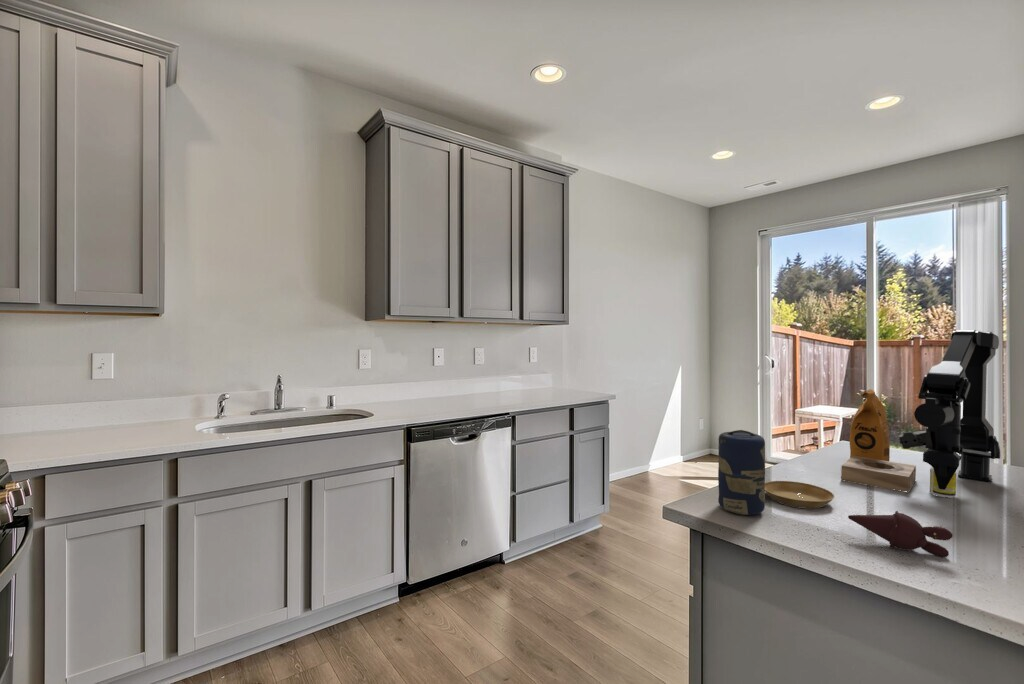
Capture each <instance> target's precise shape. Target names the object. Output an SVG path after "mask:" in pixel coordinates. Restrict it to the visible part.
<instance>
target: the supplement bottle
mask: <svg viewBox="0 0 1024 684" xmlns="http://www.w3.org/2000/svg"><path fill="white" fill-rule="evenodd" d="M956 492H957V471H956V472H955V473H954V475H953V477H952V478H951V480H950V482H949V483H948V485H947V487H946V489H945V490H943V489H939V487H938V483H937V479H936V476H935V472H934V468H933V467H932V466H930V471H929V493H930V494H931V495H933V496H936V495H937V497H939V496H941V498H945V497H948V498H947V499H953V497H954V498H956V496H957V493H956Z"/></svg>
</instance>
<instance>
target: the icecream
mask: <svg viewBox="0 0 1024 684" xmlns="http://www.w3.org/2000/svg"><path fill="white" fill-rule="evenodd" d="M847 519H848V520H851V521H853V522H854V523H855V524H858V525H859V526H861V527H863V528H864V529H866V530H867V531H869V532H871V533H873V534H874V535H876V536H878V537H880V538H882V539H883V540H885V541H886V542H888V543H889V548H890V549H893V548H896V549H898V550H899V549H900V550H903V551H912V550H913V551H914V550H915V549H918V548H920V549H922V550H923V551H924V552H927V553H929V554H930V555H933V556H934V557H935V556H936V557H940V558H947V557H949V556H950V552H949V550H948V549H947V548H946V547H944V546H942V545H940V544H938V543H936V542H932V541H930V540H929V541H928V540H927V537H928V538H931V539H933V540H938V541H949V540H951V539H952V538H953V537H954V535H953V533H952V532H951V530H950V529H947V528H946V527H943V526H942V527H941V526H922V525H921V523H920V522H919V521H918V520H916V519H915V518H913V517H912V516H910V515H907V514H905V513H903V512H902V513H901V512H899V511H898V510H896V511H895V512H894V513H893V514H865V515H864V514H856V515H855V514H852V515H851V514H849V515H848V516H847Z"/></svg>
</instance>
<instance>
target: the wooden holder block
mask: <svg viewBox="0 0 1024 684" xmlns="http://www.w3.org/2000/svg"><path fill="white" fill-rule="evenodd" d="M840 471H841V477H840V478H841V480H840V481H843V480H845V481H844V482H848V481H850V482H849V483H853V482H856V483H855V484H859V483H861V484H860V485H864V484H867V485H866V486H869V485H872V486H871V487H874V486H877V487H876V488H880V487H881V489H885V488H887V490H890V489H895V490H894V491H896V490H901V491H907V492H909V493H910V491H911V490H910V489H912V488H913V486H912V485H914V484H915V482H916V481H915V480H917V478H916V475H917V465H914V464H909V463H902V462H895V461H890V460H889V461H884V460H877V459H871V458H864V457H858V456H852V457H851V458H850V457H849V459H847V460H846V461H845V462H843V464H842V465H841V470H840ZM913 483H914V484H913ZM911 487H912V488H911ZM909 490H910V491H909ZM901 491H900V492H901Z"/></svg>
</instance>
